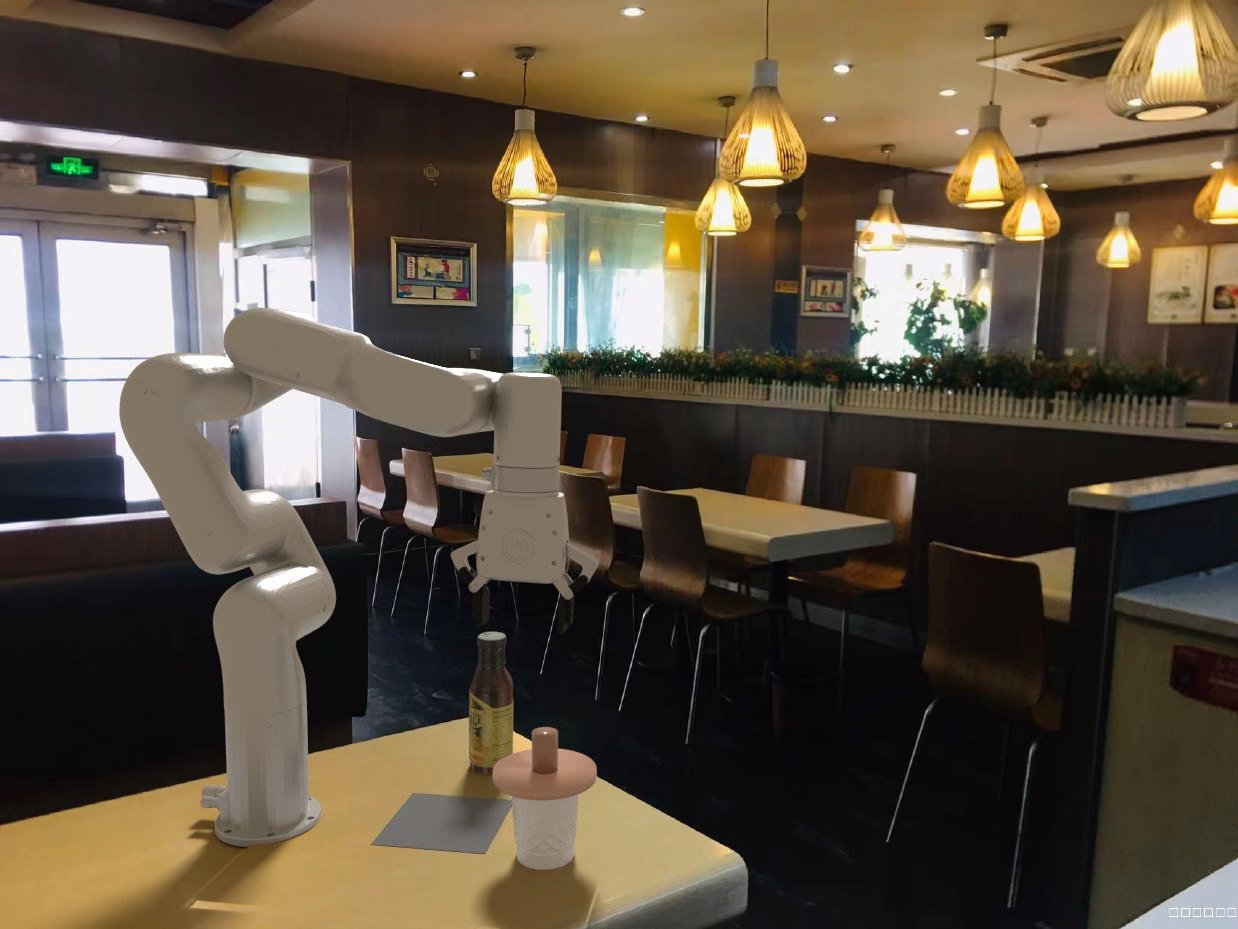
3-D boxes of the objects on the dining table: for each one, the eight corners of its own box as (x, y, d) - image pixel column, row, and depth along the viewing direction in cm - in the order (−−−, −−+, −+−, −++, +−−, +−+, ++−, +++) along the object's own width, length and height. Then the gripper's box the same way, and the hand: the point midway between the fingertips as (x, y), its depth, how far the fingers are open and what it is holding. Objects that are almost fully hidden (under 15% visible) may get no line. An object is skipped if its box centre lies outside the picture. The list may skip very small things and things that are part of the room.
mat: (370, 849, 112) (370, 844, 112) (412, 797, 126) (412, 792, 126) (485, 858, 110) (485, 853, 110) (514, 804, 124) (514, 800, 124)
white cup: (569, 880, 105) (569, 794, 104) (502, 872, 107) (501, 788, 106) (586, 846, 113) (586, 766, 112) (523, 839, 115) (522, 760, 114)
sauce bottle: (466, 763, 137) (465, 629, 135) (508, 758, 139) (508, 626, 137) (473, 782, 130) (472, 642, 129) (517, 777, 132) (517, 638, 130)
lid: (479, 796, 104) (479, 748, 103) (507, 753, 116) (507, 710, 115) (586, 803, 102) (587, 756, 102) (604, 759, 114) (604, 716, 114)
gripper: (442, 480, 105) (440, 629, 107) (594, 489, 103) (589, 641, 105) (464, 473, 113) (461, 613, 115) (606, 481, 110) (601, 624, 112)
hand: (522, 626), depth 110 cm, fingers open, 9 cm apart
